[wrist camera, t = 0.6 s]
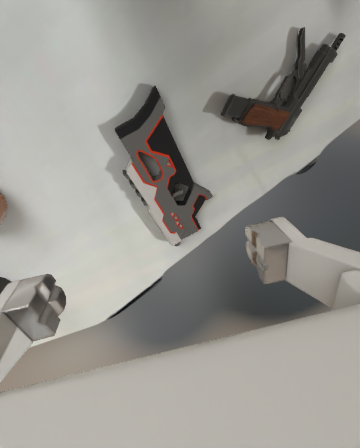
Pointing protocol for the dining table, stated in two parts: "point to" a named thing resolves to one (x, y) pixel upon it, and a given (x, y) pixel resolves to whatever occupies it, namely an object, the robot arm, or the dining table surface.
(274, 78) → the dining table surface
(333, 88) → the dining table surface
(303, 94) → the handgun
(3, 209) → the bowl
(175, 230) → the futuristic firearm
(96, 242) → the dining table surface
